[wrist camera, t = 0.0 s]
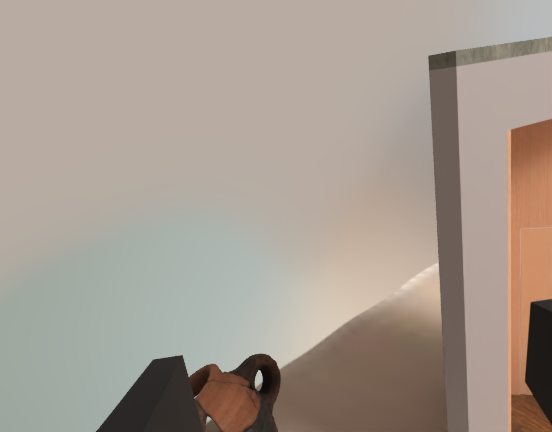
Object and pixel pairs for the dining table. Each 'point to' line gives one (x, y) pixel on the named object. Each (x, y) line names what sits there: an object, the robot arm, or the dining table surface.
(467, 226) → the cabinet
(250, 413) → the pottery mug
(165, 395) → the robot arm
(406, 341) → the dining table surface
